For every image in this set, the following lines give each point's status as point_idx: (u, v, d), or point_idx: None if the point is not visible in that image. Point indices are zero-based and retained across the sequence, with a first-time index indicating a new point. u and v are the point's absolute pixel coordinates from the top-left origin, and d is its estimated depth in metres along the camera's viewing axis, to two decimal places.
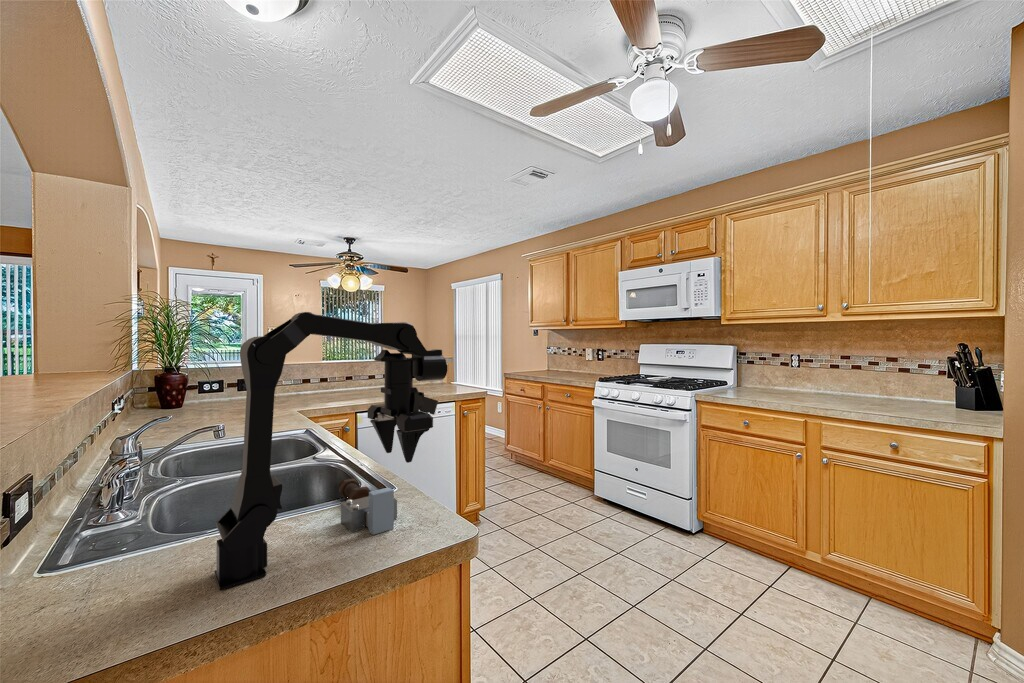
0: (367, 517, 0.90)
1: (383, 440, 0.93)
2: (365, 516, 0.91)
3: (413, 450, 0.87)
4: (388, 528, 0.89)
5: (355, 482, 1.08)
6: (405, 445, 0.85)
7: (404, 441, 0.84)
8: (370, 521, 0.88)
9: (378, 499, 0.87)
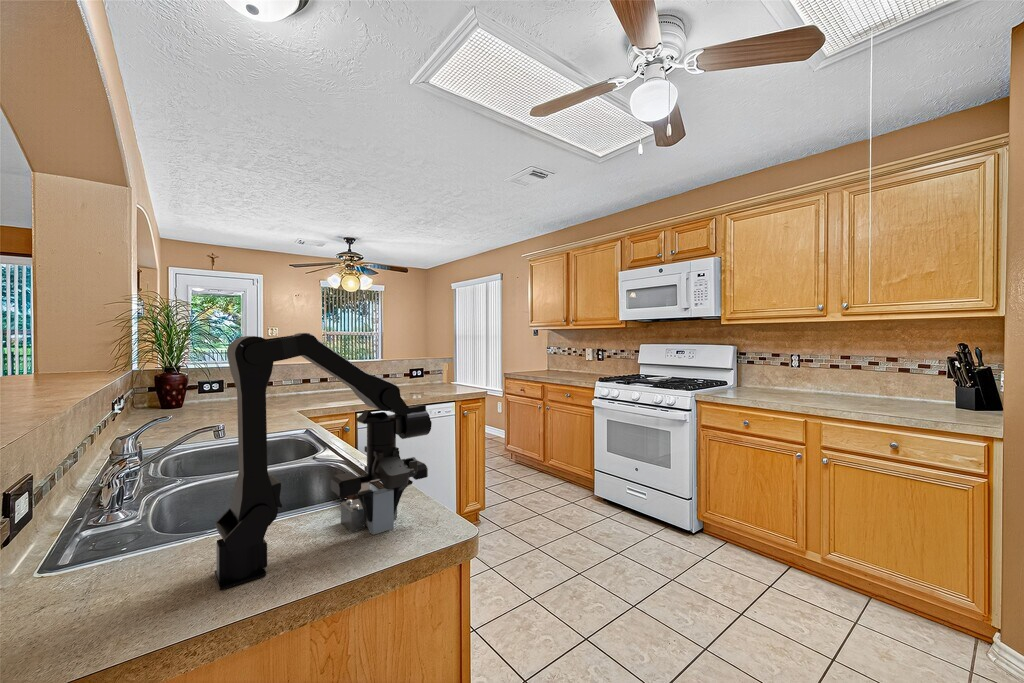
0: None
1: None
2: (365, 516, 0.91)
3: (366, 511, 0.86)
4: (388, 528, 0.89)
5: None
6: (360, 501, 0.88)
7: (358, 497, 0.88)
8: None
9: (378, 499, 0.87)
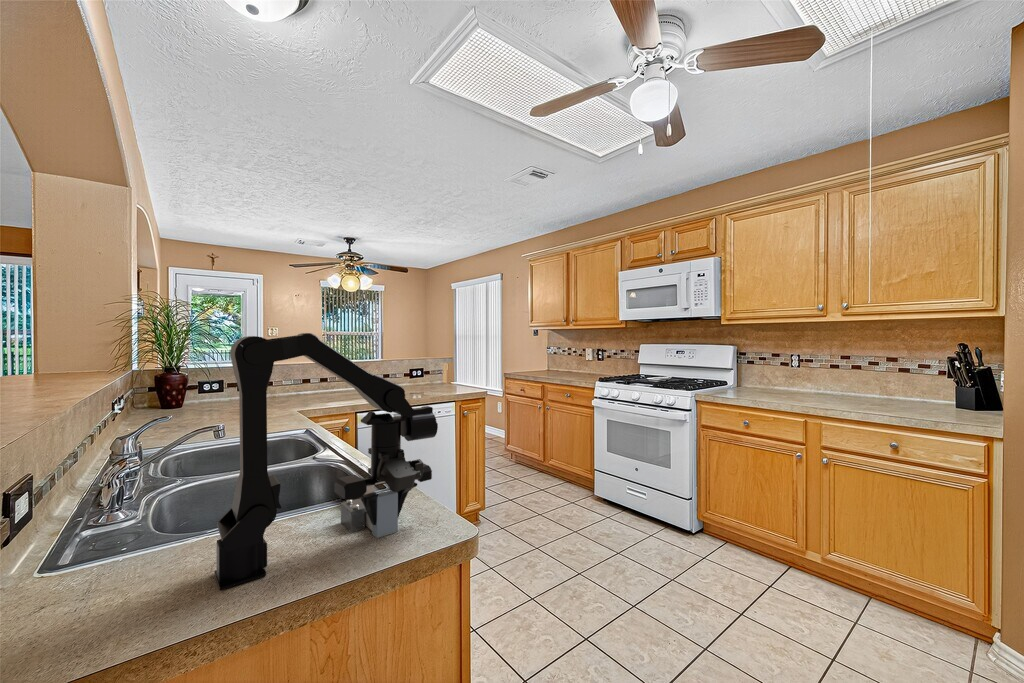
0: None
1: None
2: (369, 518, 0.89)
3: (370, 514, 0.85)
4: (392, 531, 0.87)
5: None
6: (364, 504, 0.86)
7: (362, 500, 0.86)
8: None
9: (382, 501, 0.86)
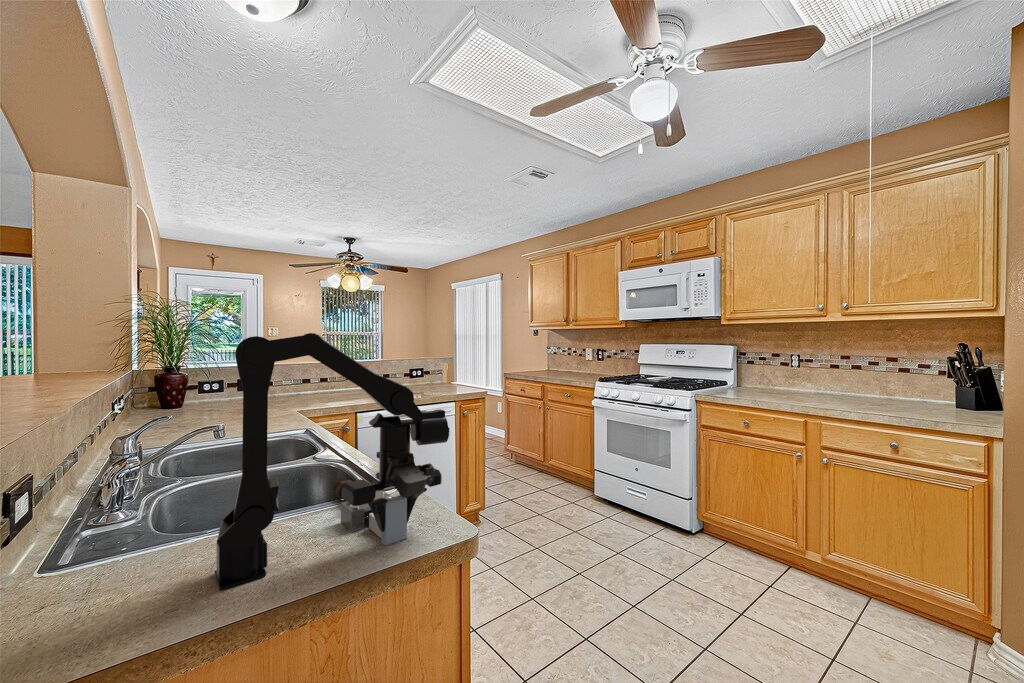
0: None
1: None
2: (377, 525, 0.86)
3: (379, 520, 0.82)
4: (401, 538, 0.85)
5: None
6: (372, 510, 0.83)
7: (370, 505, 0.83)
8: None
9: (391, 507, 0.83)
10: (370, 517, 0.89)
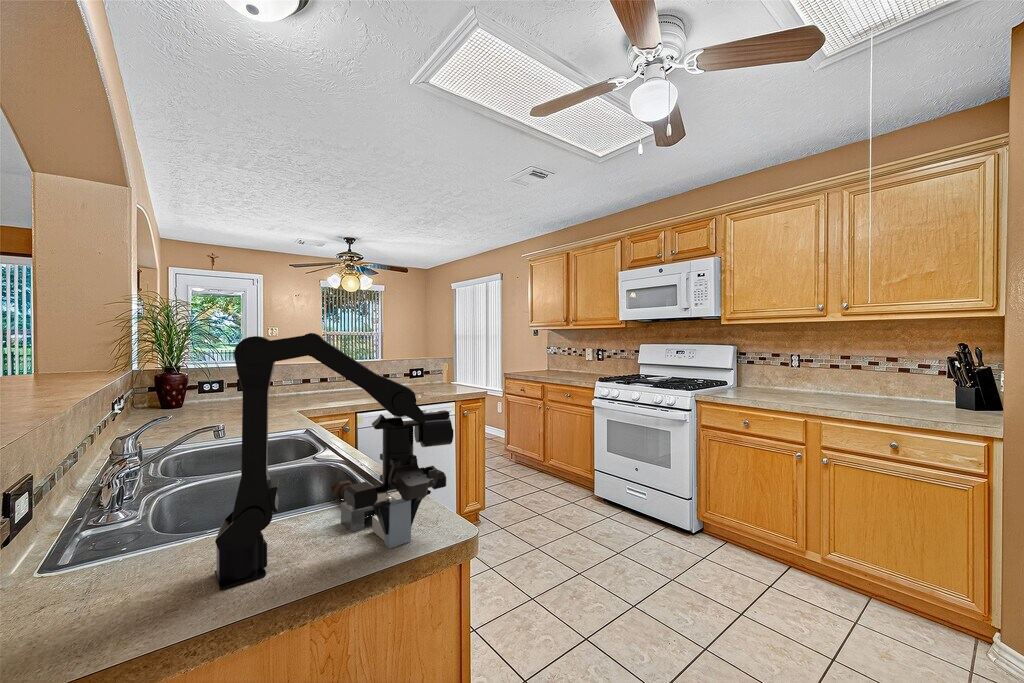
0: None
1: None
2: (380, 527, 0.85)
3: (382, 523, 0.81)
4: (405, 541, 0.83)
5: (350, 484, 1.06)
6: (376, 513, 0.82)
7: (374, 508, 0.82)
8: None
9: (395, 510, 0.82)
10: (373, 520, 0.88)
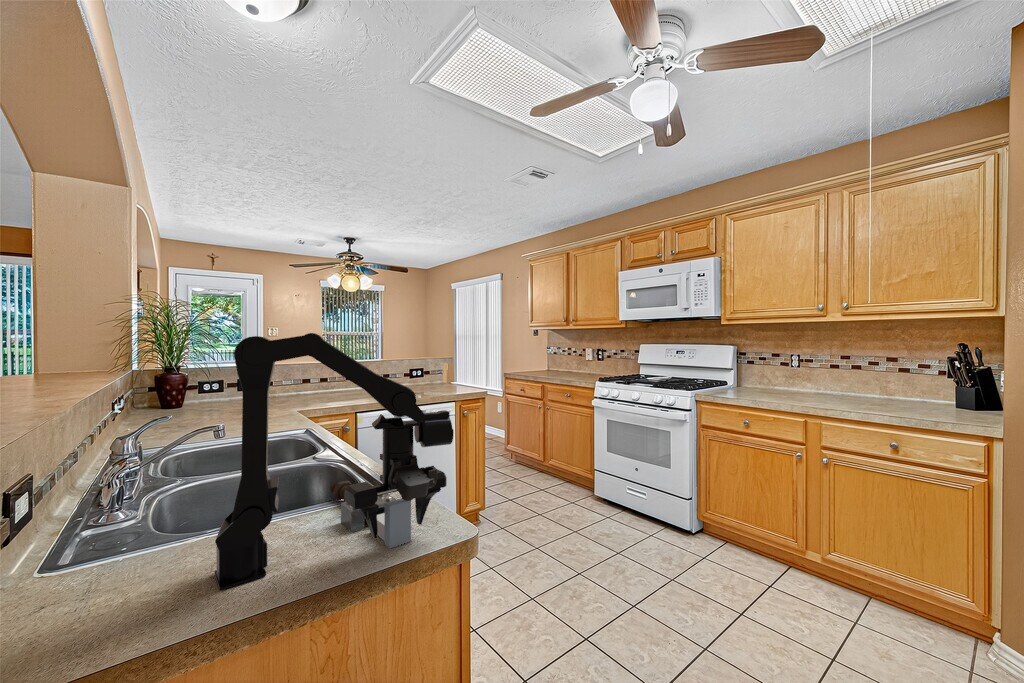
0: (383, 529, 0.84)
1: (416, 507, 0.87)
2: (380, 527, 0.85)
3: (371, 526, 0.79)
4: (405, 541, 0.83)
5: (350, 484, 1.06)
6: (364, 516, 0.80)
7: (362, 511, 0.81)
8: (386, 534, 0.82)
9: (395, 510, 0.82)
10: None
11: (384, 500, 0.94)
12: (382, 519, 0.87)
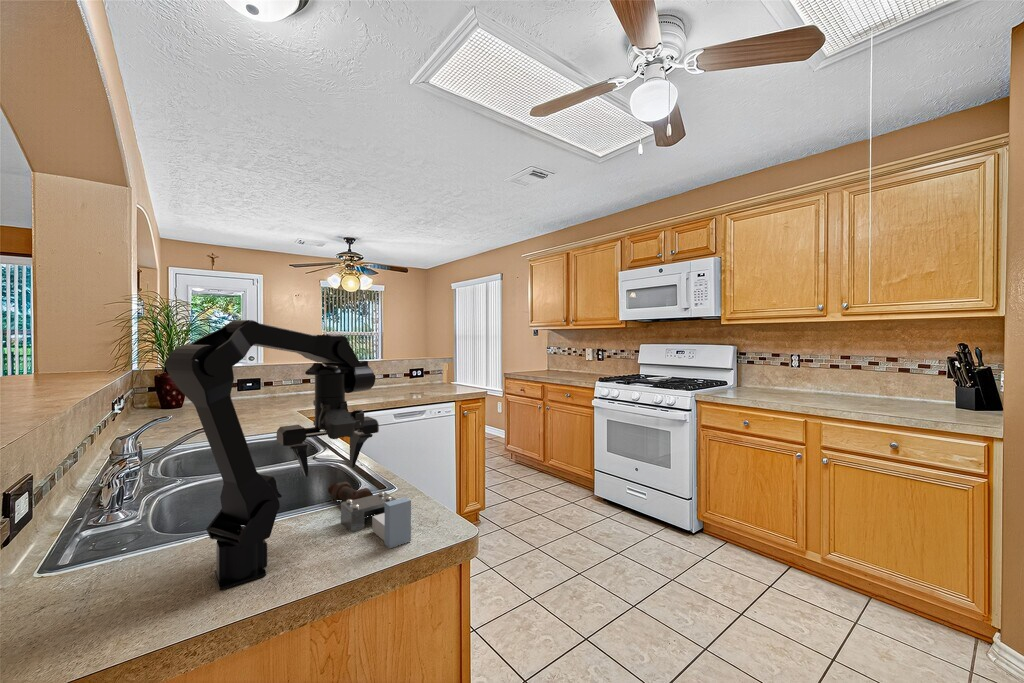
0: (383, 529, 0.84)
1: (350, 452, 0.93)
2: (380, 527, 0.85)
3: (301, 465, 0.85)
4: (405, 541, 0.83)
5: (348, 485, 1.06)
6: (296, 456, 0.86)
7: (294, 452, 0.86)
8: (386, 534, 0.82)
9: (395, 510, 0.82)
10: (373, 520, 0.88)
11: (384, 500, 0.94)
12: (382, 519, 0.87)
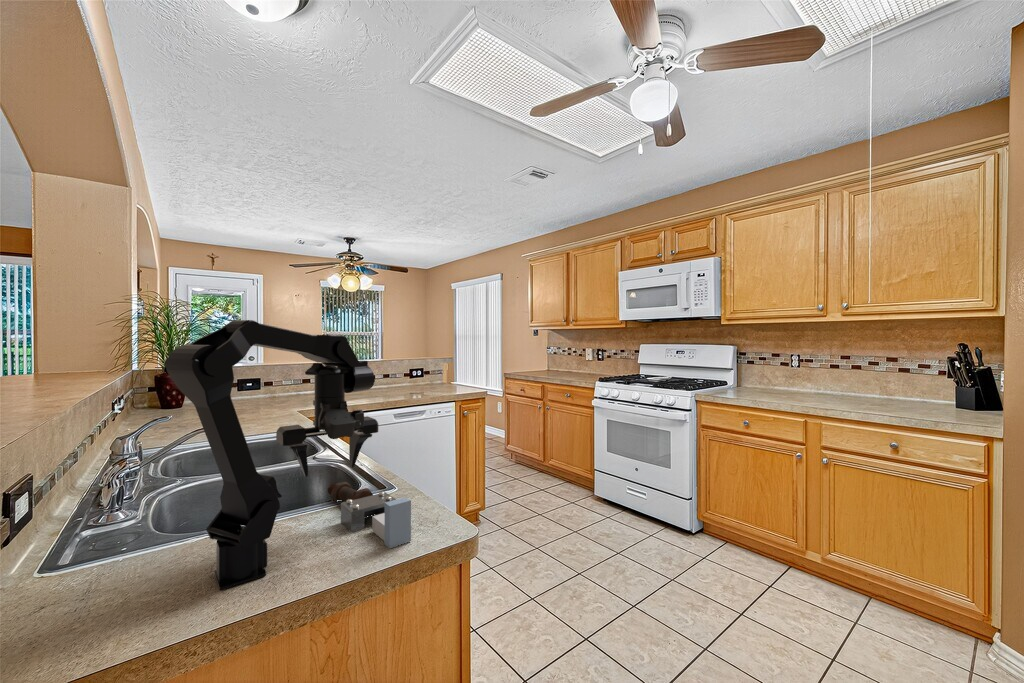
0: (383, 529, 0.84)
1: (349, 452, 0.93)
2: (380, 527, 0.85)
3: (301, 465, 0.85)
4: (405, 541, 0.83)
5: (348, 485, 1.05)
6: (296, 456, 0.86)
7: (294, 452, 0.86)
8: (386, 534, 0.82)
9: (395, 510, 0.82)
10: (373, 520, 0.88)
11: (384, 500, 0.94)
12: (382, 519, 0.87)
